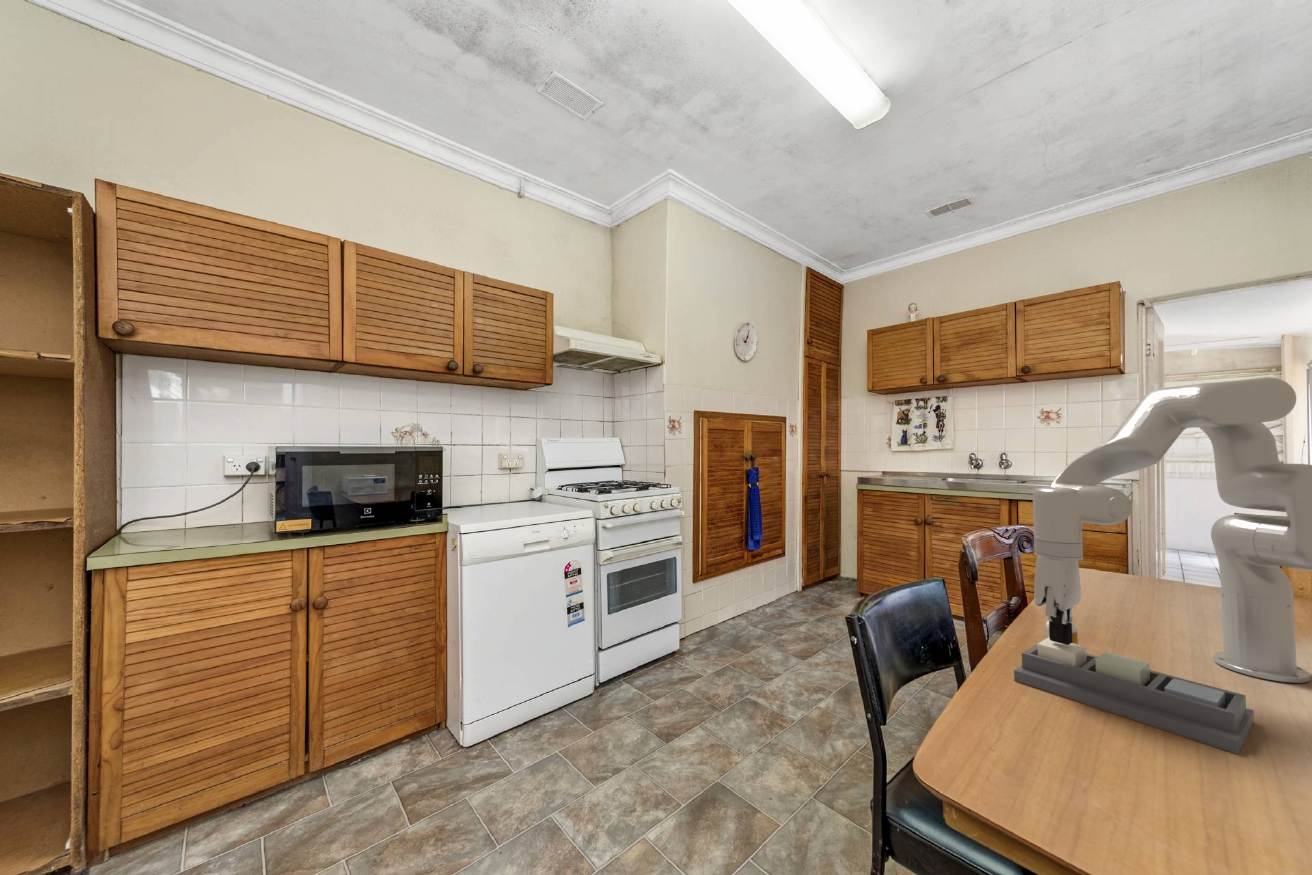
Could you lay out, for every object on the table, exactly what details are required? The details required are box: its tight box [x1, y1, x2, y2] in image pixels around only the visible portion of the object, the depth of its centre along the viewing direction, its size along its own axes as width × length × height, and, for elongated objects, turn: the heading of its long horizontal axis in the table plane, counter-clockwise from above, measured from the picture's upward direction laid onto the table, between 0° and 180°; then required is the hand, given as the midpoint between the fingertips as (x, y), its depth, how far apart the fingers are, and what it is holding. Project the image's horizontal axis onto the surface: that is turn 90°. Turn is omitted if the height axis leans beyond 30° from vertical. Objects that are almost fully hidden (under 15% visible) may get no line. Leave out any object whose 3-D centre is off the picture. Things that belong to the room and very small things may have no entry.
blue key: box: [1164, 678, 1226, 709], centre depth 83 cm, size 6×6×3 cm
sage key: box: [1095, 651, 1151, 686], centre depth 90 cm, size 6×6×3 cm
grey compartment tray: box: [1013, 644, 1255, 755], centre depth 90 cm, size 15×29×5 cm, turn 33°
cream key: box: [1036, 637, 1087, 667], centre depth 98 cm, size 6×6×3 cm
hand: (1060, 641), depth 98 cm, fingers closed
